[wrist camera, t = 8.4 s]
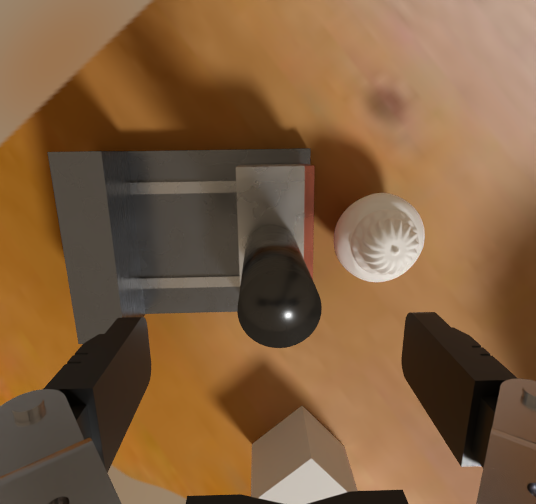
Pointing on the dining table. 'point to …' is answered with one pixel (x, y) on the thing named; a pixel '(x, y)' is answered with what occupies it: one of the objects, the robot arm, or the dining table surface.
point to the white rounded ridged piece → (379, 237)
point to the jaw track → (151, 230)
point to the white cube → (299, 462)
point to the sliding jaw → (276, 253)
